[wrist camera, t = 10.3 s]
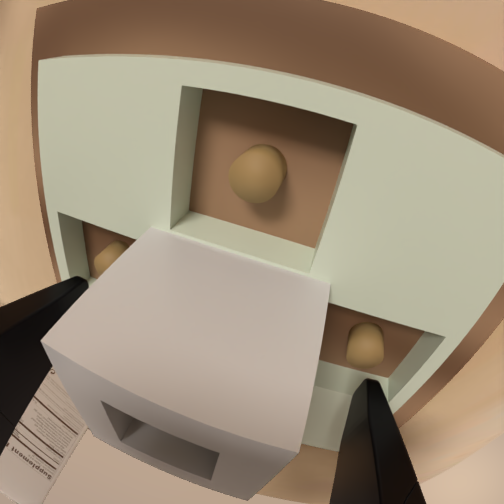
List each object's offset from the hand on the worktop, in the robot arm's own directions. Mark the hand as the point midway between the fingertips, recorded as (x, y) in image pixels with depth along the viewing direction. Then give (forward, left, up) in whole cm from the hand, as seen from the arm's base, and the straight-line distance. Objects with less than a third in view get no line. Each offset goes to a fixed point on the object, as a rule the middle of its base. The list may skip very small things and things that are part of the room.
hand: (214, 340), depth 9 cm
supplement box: (-24, +18, -4) cm, 30 cm away
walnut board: (0, 0, -4) cm, 4 cm away
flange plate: (0, 0, -2) cm, 2 cm away
